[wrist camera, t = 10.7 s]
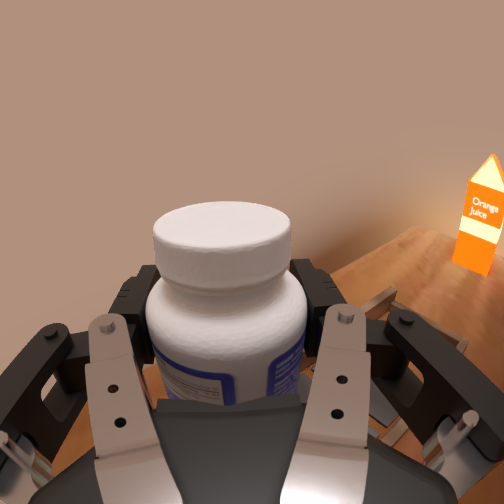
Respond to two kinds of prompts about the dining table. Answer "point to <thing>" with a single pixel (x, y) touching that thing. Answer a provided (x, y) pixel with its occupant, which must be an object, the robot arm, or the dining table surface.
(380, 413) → the tray
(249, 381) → the pill bottle
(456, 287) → the dining table surface
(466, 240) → the orange juice
